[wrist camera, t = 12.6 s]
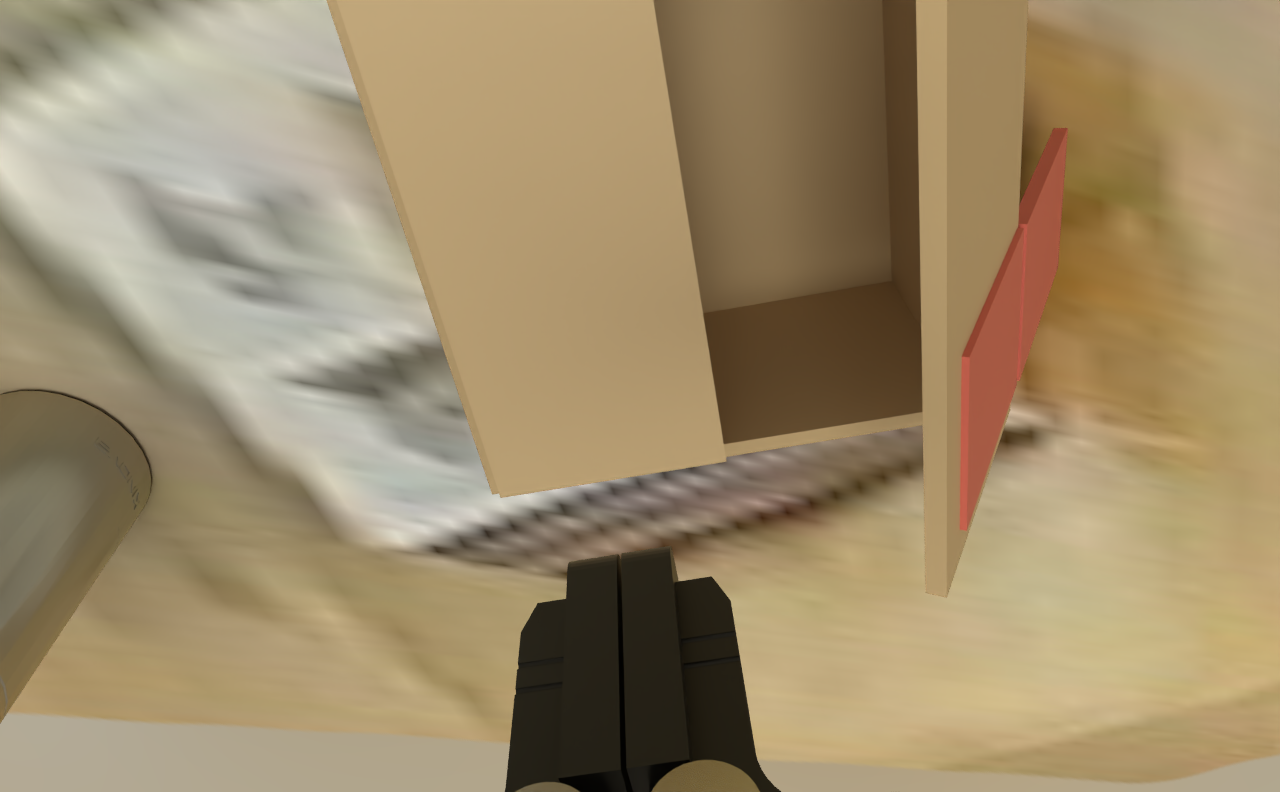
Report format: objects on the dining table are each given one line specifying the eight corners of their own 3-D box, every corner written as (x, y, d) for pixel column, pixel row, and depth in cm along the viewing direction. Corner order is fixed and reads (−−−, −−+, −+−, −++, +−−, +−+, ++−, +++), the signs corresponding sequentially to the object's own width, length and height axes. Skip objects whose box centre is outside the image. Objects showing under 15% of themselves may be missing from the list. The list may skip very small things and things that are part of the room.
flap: (925, 592, 27) (955, 599, 27) (914, -111, 17) (961, -117, 17) (1034, 290, 40) (1055, 292, 40) (1063, -206, 31) (1091, -210, 30)
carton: (516, 350, 46) (489, 512, 35) (387, -99, 35) (293, -59, 25) (903, 284, 45) (995, 431, 34) (890, -204, 34) (1018, -209, 24)
